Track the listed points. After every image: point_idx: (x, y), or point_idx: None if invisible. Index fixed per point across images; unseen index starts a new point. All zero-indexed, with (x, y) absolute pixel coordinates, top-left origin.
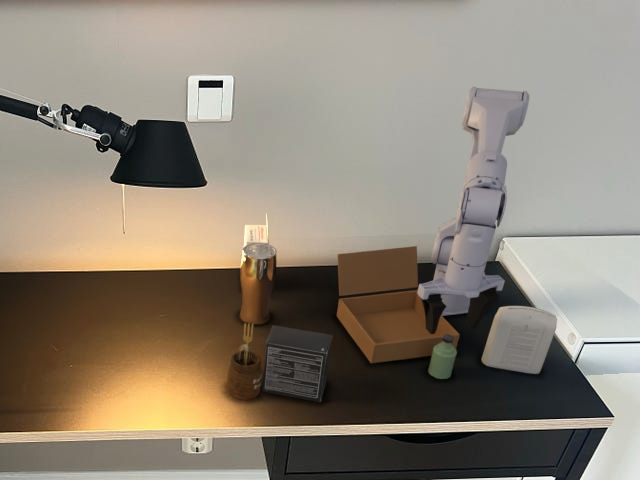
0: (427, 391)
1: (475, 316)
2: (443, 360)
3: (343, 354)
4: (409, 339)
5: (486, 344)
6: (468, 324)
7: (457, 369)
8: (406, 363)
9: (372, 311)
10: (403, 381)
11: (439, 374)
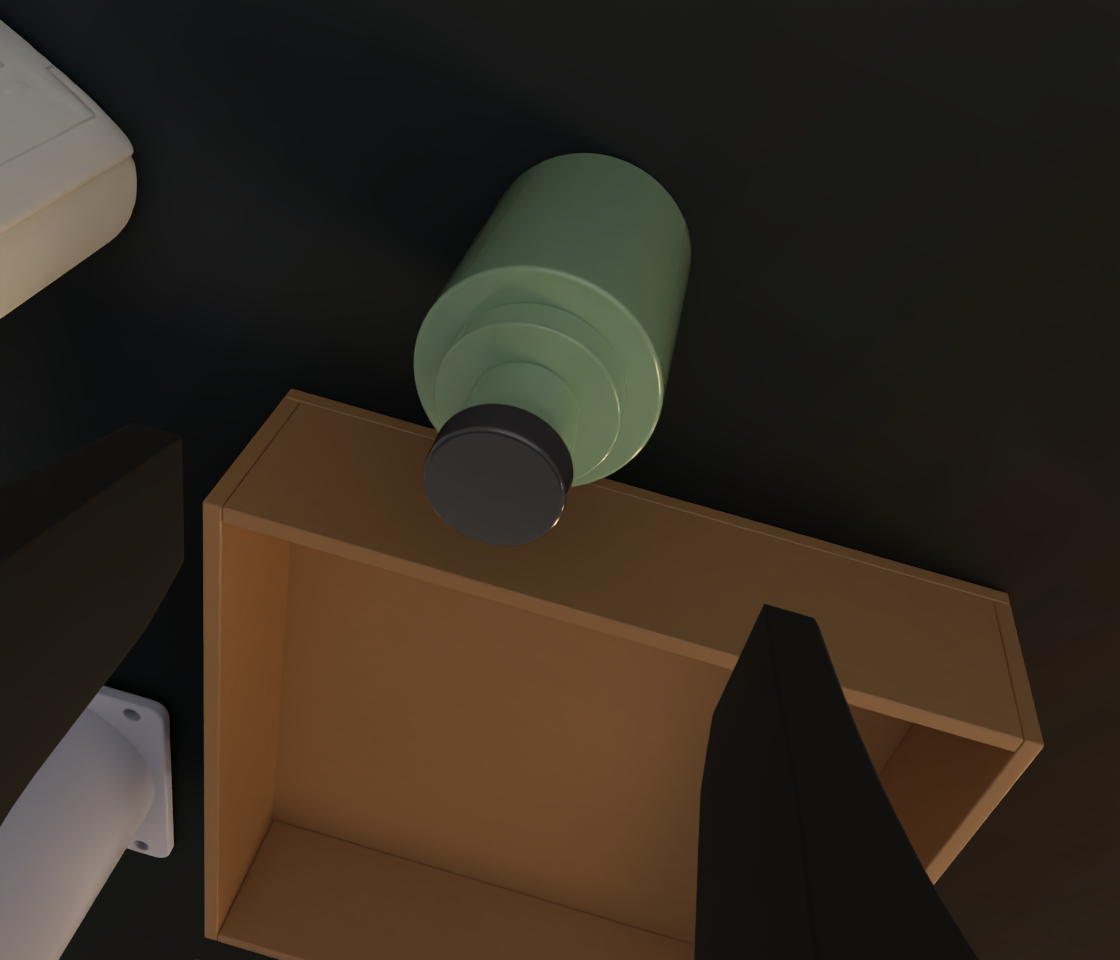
0: (901, 93)
1: (47, 582)
2: (635, 282)
3: (1068, 752)
4: (510, 648)
5: (25, 288)
6: (176, 524)
7: (394, 225)
8: (733, 478)
9: (537, 906)
10: (968, 319)
11: (660, 211)
